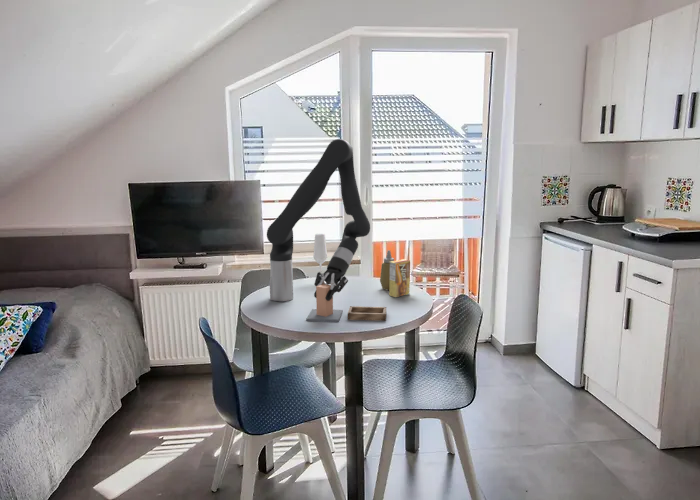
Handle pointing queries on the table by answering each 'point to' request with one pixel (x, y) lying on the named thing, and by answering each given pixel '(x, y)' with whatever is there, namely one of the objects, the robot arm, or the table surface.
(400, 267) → the candy box
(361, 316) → the walnut cradle
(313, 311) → the slate mat
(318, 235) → the champagne flute
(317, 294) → the terracotta block
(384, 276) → the squeeze bottle
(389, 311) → the table surface
